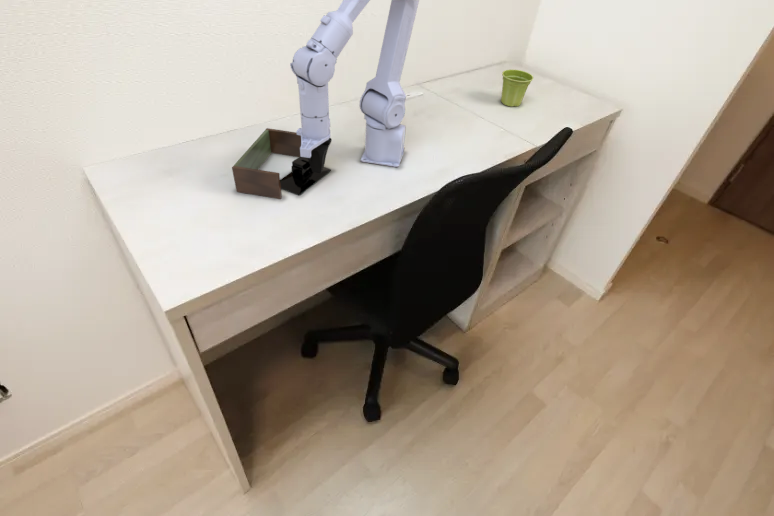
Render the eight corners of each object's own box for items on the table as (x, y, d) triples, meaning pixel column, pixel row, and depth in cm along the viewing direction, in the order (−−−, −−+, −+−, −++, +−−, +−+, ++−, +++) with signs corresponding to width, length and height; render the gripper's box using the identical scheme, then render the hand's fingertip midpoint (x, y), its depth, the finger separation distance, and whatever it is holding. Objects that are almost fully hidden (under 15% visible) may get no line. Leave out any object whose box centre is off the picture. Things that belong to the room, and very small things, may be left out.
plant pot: (529, 102, 141) (537, 74, 135) (519, 112, 135) (527, 83, 129) (502, 94, 145) (508, 67, 139) (491, 103, 139) (497, 75, 133)
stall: (308, 156, 108) (307, 134, 104) (280, 199, 94) (277, 174, 90) (269, 150, 109) (266, 128, 105) (236, 192, 95) (231, 167, 91)
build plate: (299, 196, 96) (297, 177, 92) (272, 186, 98) (269, 167, 95) (331, 170, 104) (331, 153, 101) (306, 161, 106) (305, 144, 103)
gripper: (307, 95, 96) (310, 152, 105) (282, 124, 85) (289, 185, 94) (338, 100, 95) (339, 157, 104) (318, 130, 84) (321, 190, 93)
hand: (317, 170), depth 99 cm, fingers closed
